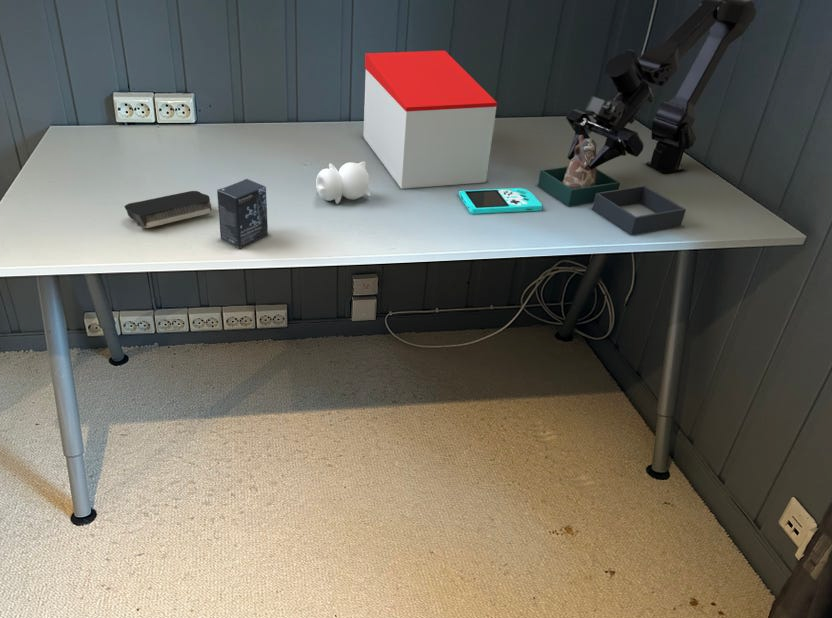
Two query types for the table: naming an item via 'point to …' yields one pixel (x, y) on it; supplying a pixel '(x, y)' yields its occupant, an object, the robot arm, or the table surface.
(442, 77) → the storage cube
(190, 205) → the black sponge
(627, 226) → the grey tote
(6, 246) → the table surface
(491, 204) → the handheld game console
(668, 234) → the table surface
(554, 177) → the teal tote
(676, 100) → the robot arm
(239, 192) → the box
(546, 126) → the table surface
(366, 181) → the cat figurine
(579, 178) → the ceramic spout vessel
